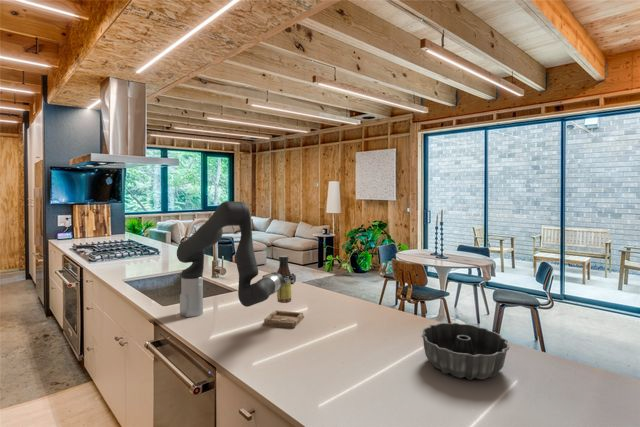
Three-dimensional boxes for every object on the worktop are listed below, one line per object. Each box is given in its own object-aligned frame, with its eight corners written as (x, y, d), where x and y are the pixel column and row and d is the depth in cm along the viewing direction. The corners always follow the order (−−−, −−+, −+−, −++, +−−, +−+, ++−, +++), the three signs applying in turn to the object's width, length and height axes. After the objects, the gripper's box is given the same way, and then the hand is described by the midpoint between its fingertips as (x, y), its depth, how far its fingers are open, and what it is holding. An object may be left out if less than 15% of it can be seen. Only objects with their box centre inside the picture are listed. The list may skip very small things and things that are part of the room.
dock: (294, 328, 153) (294, 323, 153) (263, 324, 157) (263, 320, 156) (304, 317, 167) (304, 312, 167) (275, 314, 170) (275, 310, 170)
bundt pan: (503, 397, 102) (504, 362, 102) (410, 372, 116) (411, 341, 116) (511, 361, 125) (513, 332, 124) (433, 344, 139) (433, 317, 138)
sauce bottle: (294, 300, 162) (294, 255, 161) (286, 304, 156) (287, 257, 156) (281, 298, 165) (282, 254, 164) (273, 302, 159) (274, 256, 158)
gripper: (288, 275, 144) (301, 267, 161) (254, 273, 148) (270, 265, 164) (288, 294, 145) (301, 284, 161) (254, 291, 148) (270, 282, 165)
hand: (285, 275), depth 163 cm, fingers closed on sauce bottle, 6 cm apart
